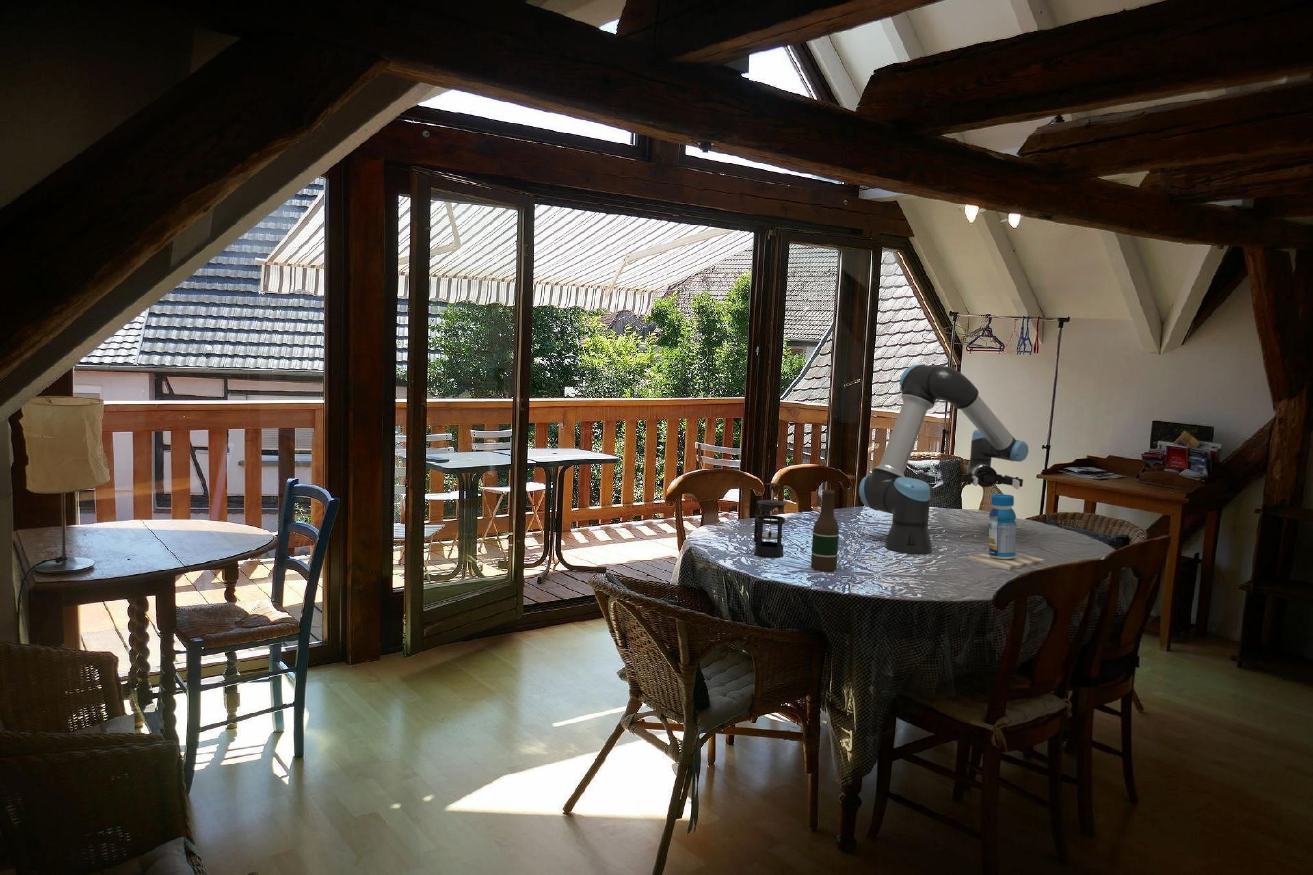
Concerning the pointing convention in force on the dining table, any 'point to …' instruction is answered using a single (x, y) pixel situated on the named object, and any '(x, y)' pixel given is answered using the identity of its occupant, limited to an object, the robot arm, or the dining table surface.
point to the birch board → (1006, 561)
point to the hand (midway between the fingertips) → (997, 483)
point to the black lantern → (766, 547)
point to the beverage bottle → (1002, 527)
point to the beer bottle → (825, 536)
